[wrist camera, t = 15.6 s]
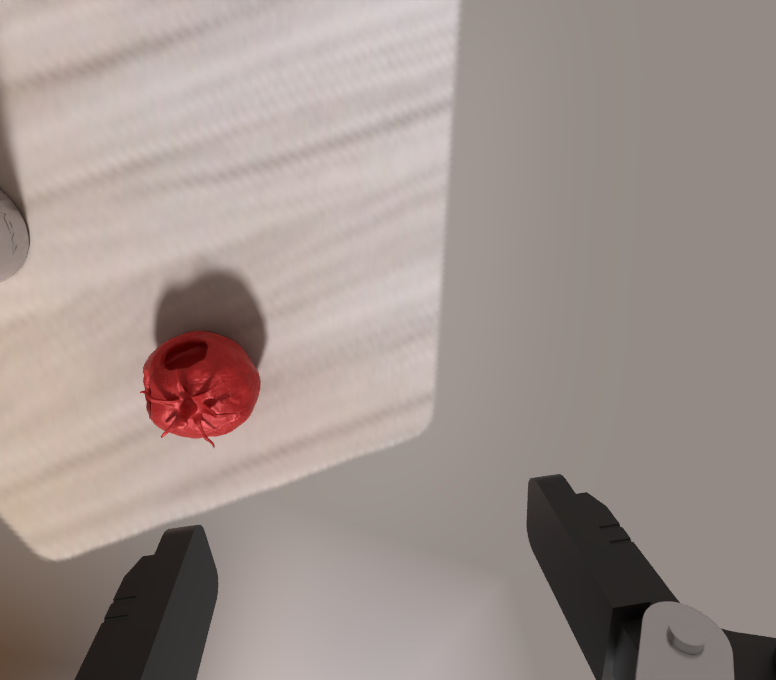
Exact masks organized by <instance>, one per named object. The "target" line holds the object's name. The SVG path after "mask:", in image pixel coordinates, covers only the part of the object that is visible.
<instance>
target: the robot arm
mask: <svg viewBox="0 0 776 680" xmlns="http://www.w3.org/2000/svg"><path fill="white" fill-rule="evenodd" d="M28 248H29V239H28V232H27V228H26V225H25V222H24V220H23V218H22V216H21V214H20V212H19V210H18V209H17V208H16V206H15V205H14V203H13V202H12V201H11V199H10V198H8V197H7V196H6V195H5V194H4V193H3V192H2V191H1V190H0V282H1V281H4V280H6V279H7V278H9V277H11V276H12V275H14V274H15V273H16V272H17V271H18V270H19V269H20V268H21V267H22V265H23V263H24V261H25V259H26V257H27V253H28ZM527 533H528V538H529V542H530V545H531V548H532V550H533V553H534V555H535V557H536V559H537V561H538V563H539V565H540V567H541V569H542V571H543V573H544V575H545V577H546V579H547V581H548V583H549V585H550V587H551V589H552V591H553V593H554V595H555V597H556V599H557V601H558V603H559V605H560V607H561V609H562V612H563V614H564V616H565V618H566V619H567V621H568V624H569V626H570V628H571V630H572V632H573V634H574V636H575V638H576V640H577V642H578V644H579V646H580V648H581V650H582V652H583V654H584V656H585V658H586V660H587V662H588V664H589V666H590V668H591V670H592V672H593V674H594V676H595V678H596V680H776V638H771V637H765V636H758V635H751V634H745V633H737V632H732V631H728V630H724V629H721V628H720V627H719V626H718V625H717V624H716V623H715V622H714V621H713V620H711V619H710V618H709V617H708V616H706V615H705V614H703V613H702V612H700V611H698V610H697V609H695V608H693V607H690V606H688V605H685V604H682V603H680V602H679V601H678V600H677V599H676V597H675V596H674V595H673V594H672V592H671V591H670V590H669V588H668V587H667V586H666V584H665V583H664V582H663V580H662V579H661V578H660V576H659V575H658V574H657V572H656V571H655V570H654V569H653V567H652V566H651V565H650V563H649V562H648V561H647V559H646V558H645V557H644V555H643V554H642V553H641V551H640V550H639V549H638V547H637V546H636V545H635V544H634V542H631V539H630V537H629V536H628V534H627V533H626V532H625V530H624V529H623V528H622V527H620V525H619V522H618V521H617V520H616V519H615V517H614V516H613V514H612V513H611V512H610V511H609V509H608V508H607V507H606V506H605V505H604V504H602V503H601V502H600V501H598V500H596V499H595V498H594V497H593V496H591V495H590V494H588V493H587V492H586V493H579V494H575V492H574V491H573V489H572V488H571V486H570V485H569V483H568V482H567V481H566V479H565V478H564V477H563V476H562V475H561V474H556V475H549V476H542V477H535V478H531V479H530V480H529V483H528V503H527ZM217 594H218V574H217V569H216V566H215V563H214V560H213V556H212V554H211V550H210V547H209V544H208V540H207V537H206V534H205V531H204V529H203V527H202V526H201V525H194V526H187V527H180V528H173V529H168V530H166V531H165V532H164V534H163V536H162V538H161V541H160V543H159V545H158V548H157V550H156V552H155V554H154V555H150V556H143V557H142V558H141V559H140V560H139V561H138V562H137V563H136V565H135V566H134V567H133V568H132V569H131V570H130V571H129V572H128V573H127V574H126V575H125V577H124V578H123V581H122V582H121V585H120V587H119V589H118V591H117V593H116V595H115V597H114V599H113V600H114V602H113V604H111V605H110V607H109V609H108V612H107V614H106V616H105V618H104V619H105V621H104V623H102V624H101V626H100V628H99V630H98V632H97V635H96V636H95V638H94V641H93V643H92V645H91V647H90V649H89V651H88V653H87V655H86V657H85V659H84V661H83V663H82V665H81V668H80V670H79V672H78V674H77V676H76V678H75V680H196V678H197V674H198V670H199V666H200V663H201V658H202V654H203V651H204V646H205V643H206V639H207V635H208V631H209V627H210V623H211V619H212V615H213V612H214V607H215V604H216V600H217Z"/></svg>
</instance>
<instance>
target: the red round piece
mask: <svg viewBox="0 0 776 680" xmlns="http://www.w3.org/2000/svg"><path fill="white" fill-rule="evenodd" d="M143 374H144V378H143V383H144V386H145V391H141V392H140V393H144V394H145V398H146V401H147V404H146V405H147V406H146V408H147V411H148V414H149V417H150V419H151V420H152V421H153V423H154V424H155V425H157V426H158V427H159V428H161V429H162V430H164V431H165V432H164V433H163V434H162V436H161V437H164V436H165V435H166V434H168V433H169V432H170V433H173V434H175V435H178V436H182V437H189V438H203V437H204V439H205V440H206V441H208V442H210V443H211V444H212V445H213V447H214V443H213V442H212V441H211V440H210V439H209V438H208V437H209V436H214V437H215V436H220V435H224V434H227V433H229V432H231V431H233V430H234V429H236V428H237V427H238V426H240V425H241V424H242V423H244V422H245V421H246V420H247V419H248V418H249V416H250V415H251V413H252V411H253V409H254V406H255V404H256V402H257V398H258V395H259V391H260V383H261V382H260V376H259V373H258V371H257V369H256V368H255V366H254V364H253V363H252V361H251V360H250V358H249V357H248V355H247V353H246V352H245V351H244V350H243V349H242V348H241V346H240V345H238V344H237V343H236V342H235V341H233V340H231V339H229V338H227V337H224V336H221V335H219V334H216V333H211V332H205V331H192V332H186V333H184V334H182V335H179V336H177V337H174V338H171V339H169V340H168V341H166V342H164V343H163V344H161V345H160V346H159V347H158V348H157V349H156V350H155V351H154V352H153V353H152V354H151V355H150V356H149V357H148V360H147V361H146V363H145V364H144V367H143Z"/></svg>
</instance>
